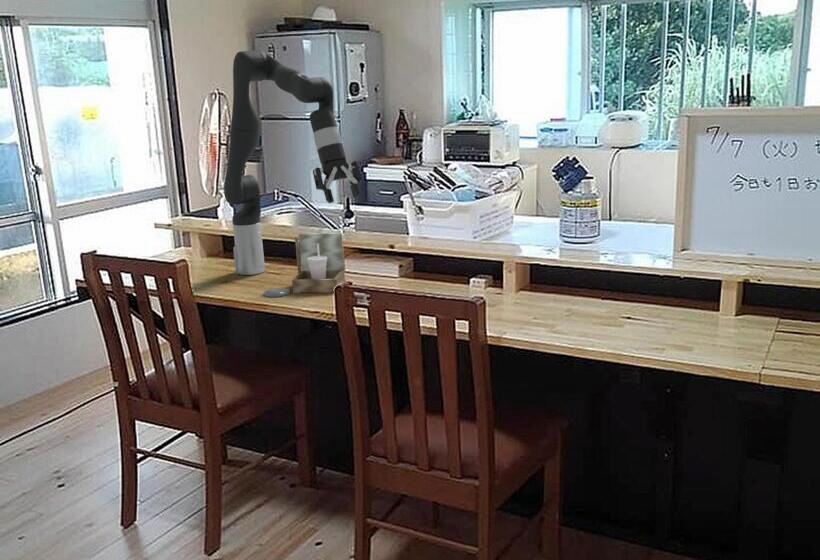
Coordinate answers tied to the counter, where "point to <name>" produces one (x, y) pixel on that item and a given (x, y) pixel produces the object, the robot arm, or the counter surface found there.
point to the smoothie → (317, 265)
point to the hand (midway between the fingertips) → (343, 199)
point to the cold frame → (334, 267)
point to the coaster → (276, 292)
